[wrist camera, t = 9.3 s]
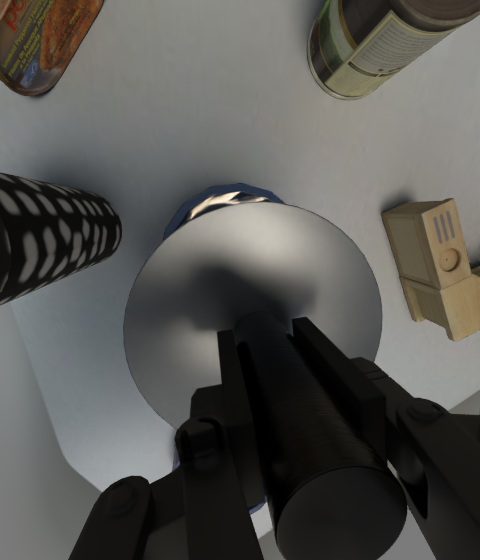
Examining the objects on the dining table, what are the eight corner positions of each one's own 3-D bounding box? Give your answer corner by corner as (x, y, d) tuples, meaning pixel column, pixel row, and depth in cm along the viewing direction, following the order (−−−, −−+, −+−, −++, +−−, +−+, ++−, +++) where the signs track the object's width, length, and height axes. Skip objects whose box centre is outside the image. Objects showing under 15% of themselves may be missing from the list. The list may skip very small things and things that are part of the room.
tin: (41, 109, 30) (-19, 70, 22) (12, 88, 30) (-61, 40, 22) (120, -21, 29) (86, -116, 21) (91, -47, 28) (44, -155, 20)
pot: (184, 310, 37) (176, 343, 27) (162, 201, 34) (145, 195, 24) (286, 292, 38) (314, 318, 28) (274, 186, 35) (302, 174, 25)
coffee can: (287, 53, 32) (349, -69, 18) (350, -28, 31) (465, -219, 17) (350, 121, 34) (447, 59, 21) (411, 48, 33) (554, -68, 20)
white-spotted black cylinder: (92, 176, 32) (-79, 115, 13) (136, 240, 34) (47, 271, 15) (28, 215, 32) (-235, 213, 13) (77, 277, 34) (-89, 355, 15)
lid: (156, 456, 18) (85, 810, 7) (100, 222, 15) (-182, 240, 4) (375, 411, 19) (590, 657, 8) (368, 185, 16) (704, 123, 5)
